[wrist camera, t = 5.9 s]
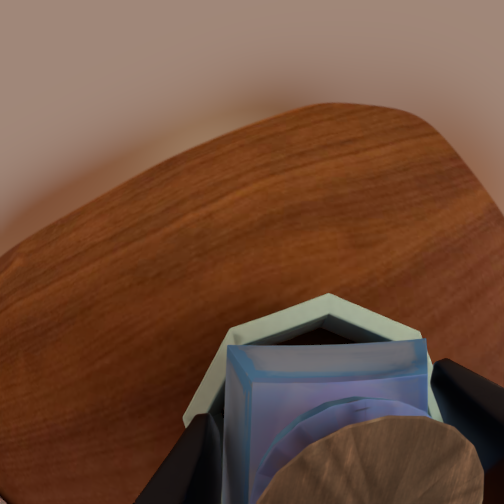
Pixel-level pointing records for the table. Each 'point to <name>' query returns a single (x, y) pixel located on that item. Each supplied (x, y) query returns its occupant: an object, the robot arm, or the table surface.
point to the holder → (292, 325)
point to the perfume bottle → (340, 428)
